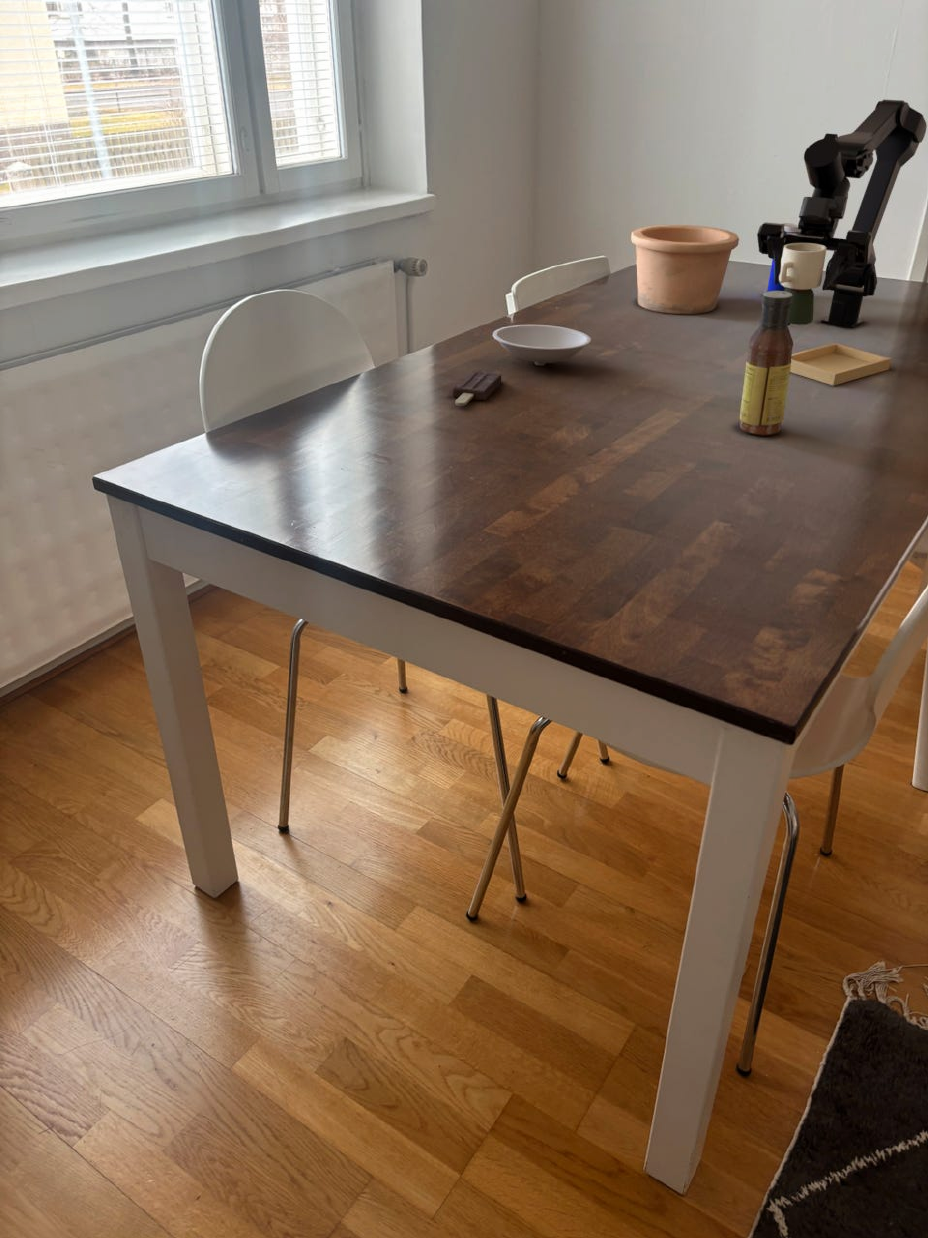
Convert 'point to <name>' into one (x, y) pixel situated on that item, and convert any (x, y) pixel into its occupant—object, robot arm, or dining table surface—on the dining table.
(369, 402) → the dining table surface
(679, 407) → the dining table surface
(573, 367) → the dining table surface
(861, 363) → the mug tray
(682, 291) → the pottery
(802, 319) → the character mug
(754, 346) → the sauce bottle
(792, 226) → the beverage can
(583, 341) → the dish
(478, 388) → the ice cream bar
